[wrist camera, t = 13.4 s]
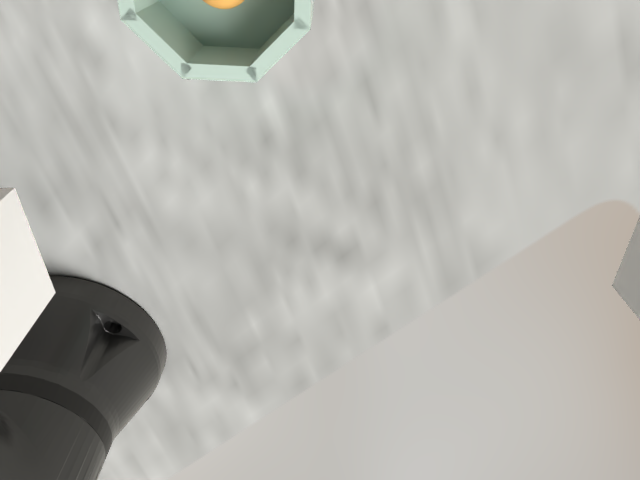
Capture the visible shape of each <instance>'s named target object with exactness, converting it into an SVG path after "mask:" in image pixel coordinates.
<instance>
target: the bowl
mask: <svg viewBox="0 0 640 480" xmlns="http://www.w3.org/2000/svg"><path fill="white" fill-rule="evenodd" d="M117 1H118V7H119V13H120V19H121V21H122V22H124V23H125V24H126V25H127V26H128V27H129V28H130V29H131V30H132V31H133V32H134V33H135V34H136V35H137V36H138V37H139V38H140V39H141V40H142V41H143V42H144V43H146V44H147V45H148V46H149V47H150V48H151V49H152V50H153V51H154V52H155V53H156V54H157V55H158V56H159V57H160V58H161V59H162V60H163V61H164V62H165V63H166V64H168V65H169V66H170V67H171V68H172V69H173V70H174V71H175V72H176V73H177V74H178V75H179V76H180V77H181V78H182V79H198V80H218V81H238V82H257V81H258V80H259V79H260V78H261V77H262V76H263V75H264V74H265V73H266V72H267V71H268V70H269V69H270V68H272V67H273V66H274V65H275V64H276V63H277V62H278V61H279V60H280V59H281V58H282V57H283V56H284V55H285V54H286V53H287V52H288V51H289V50H290V49H291V48H292V47H293V46H294V45H295V44H296V43H297V42H298V41H299V40H300V39H301V38H302V37H303V36H304V35H305V34H306V33H307V32H308V31H309V30H310V28H311V22H312V16H313V1H314V0H244V1H243V2H242V3H241V4H240V5H238V6H236V7H234V8H231V9H218V8H215V7H212V6H210V5H208V4H207V3H205V2H204V1H203V0H117Z"/></svg>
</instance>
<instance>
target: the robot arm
mask: <svg viewBox="0 0 640 480" xmlns="http://www.w3.org/2000/svg"><path fill="white" fill-rule="evenodd" d="M612 286H613V287H614V289H615V290H616V291H617V292H618V294H619V295H620V296H621V297H622V299H623V300H624V301H625V302H626V304H627V305H628V306H629V307H630V309H631V310H632V311H633V312H634V313H635V314H636V316H637V317H638V318H639V320H640V217H639V220H638V222H637V225H636V227H635V230H634V232H633V235H632V237H631V240H630V242H629V245H628V247H627V249H626V252H625V254H624V257H623V259H622V262H621V265H620V267H619V270H618V272H617V275H616V277H615V280H614V282H613V285H612ZM165 362H166V346H165V342H164V339H163V336H162V334H161V332H160V330H159V328H158V327H157V325H156V324H155V323H154V321H153V320H152V319H151V318H150V317H149V315H148V314H147V313H146V312H145V311H144V310H142V309H141V308H140V307H139V306H138V305H137V304H135V303H134V302H133V301H131V300H130V299H128V298H127V297H125V296H123V295H122V294H120V293H118V292H116V291H114V290H112V289H110V288H107V287H105V286H103V285H100V284H97V283H94V282H90V281H87V280H83V279H78V278H72V277H62V276H49V274H48V272H47V269H46V266H45V264H44V261H43V259H42V256H41V254H40V251H39V249H38V246H37V243H36V241H35V238H34V236H33V233H32V231H31V228H30V225H29V223H28V220H27V218H26V215H25V213H24V210H23V207H22V205H21V202H20V200H19V197H18V195H17V192H16V189H15V188H0V480H97V479H98V476H99V474H100V471H101V469H102V466H103V464H104V461H105V459H106V456H107V454H108V452H109V449H110V447H111V444H112V442H113V440H114V438H115V437H116V436H117V435H118V434H119V433H120V431H121V430H122V429H123V428H124V427H125V426H126V424H127V423H128V422H129V421H130V420H131V419H132V417H133V416H134V415H135V414H136V413H137V412H138V410H139V409H140V408H141V407H142V405H143V404H144V403H145V402H146V401H147V400H148V399H149V397H150V396H151V395H152V394H153V392H154V390H155V389H156V387H157V385H158V383H159V380H160V377H161V374H162V372H163V369H164V366H165Z"/></svg>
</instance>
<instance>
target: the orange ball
mask: <svg viewBox="0 0 640 480" xmlns="http://www.w3.org/2000/svg"><path fill="white" fill-rule="evenodd" d="M203 1H204V2H205V3H207V4H208V5H210V6H212V7H215V8H218V9H231V8H234V7H236V6H238V5H240V4H241V3H242V2H243V1H244V0H203Z"/></svg>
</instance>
